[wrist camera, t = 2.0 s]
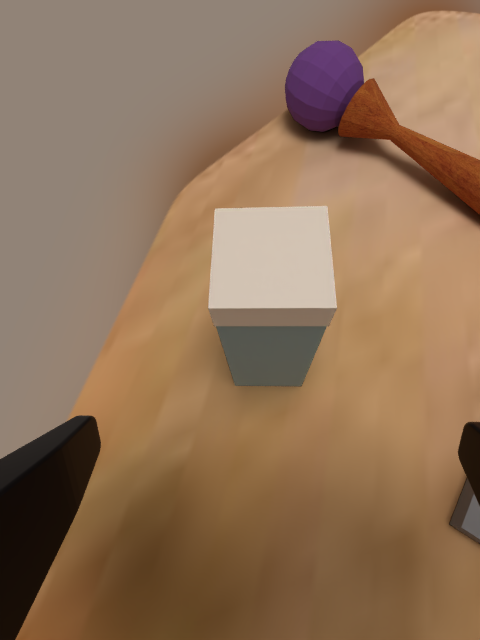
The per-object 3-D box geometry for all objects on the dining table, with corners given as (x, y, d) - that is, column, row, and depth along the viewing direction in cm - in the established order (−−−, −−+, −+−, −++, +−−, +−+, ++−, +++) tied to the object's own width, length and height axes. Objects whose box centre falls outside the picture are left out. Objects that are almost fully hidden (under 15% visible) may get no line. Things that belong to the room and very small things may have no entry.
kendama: (522, 221, 21) (267, 61, 25) (471, 260, 26) (271, 123, 31) (584, 149, 21) (322, 6, 26) (520, 203, 27) (316, 77, 32)
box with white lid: (302, 387, 21) (336, 307, 11) (234, 386, 21) (208, 308, 11) (299, 324, 23) (327, 206, 13) (236, 324, 23) (214, 208, 13)
